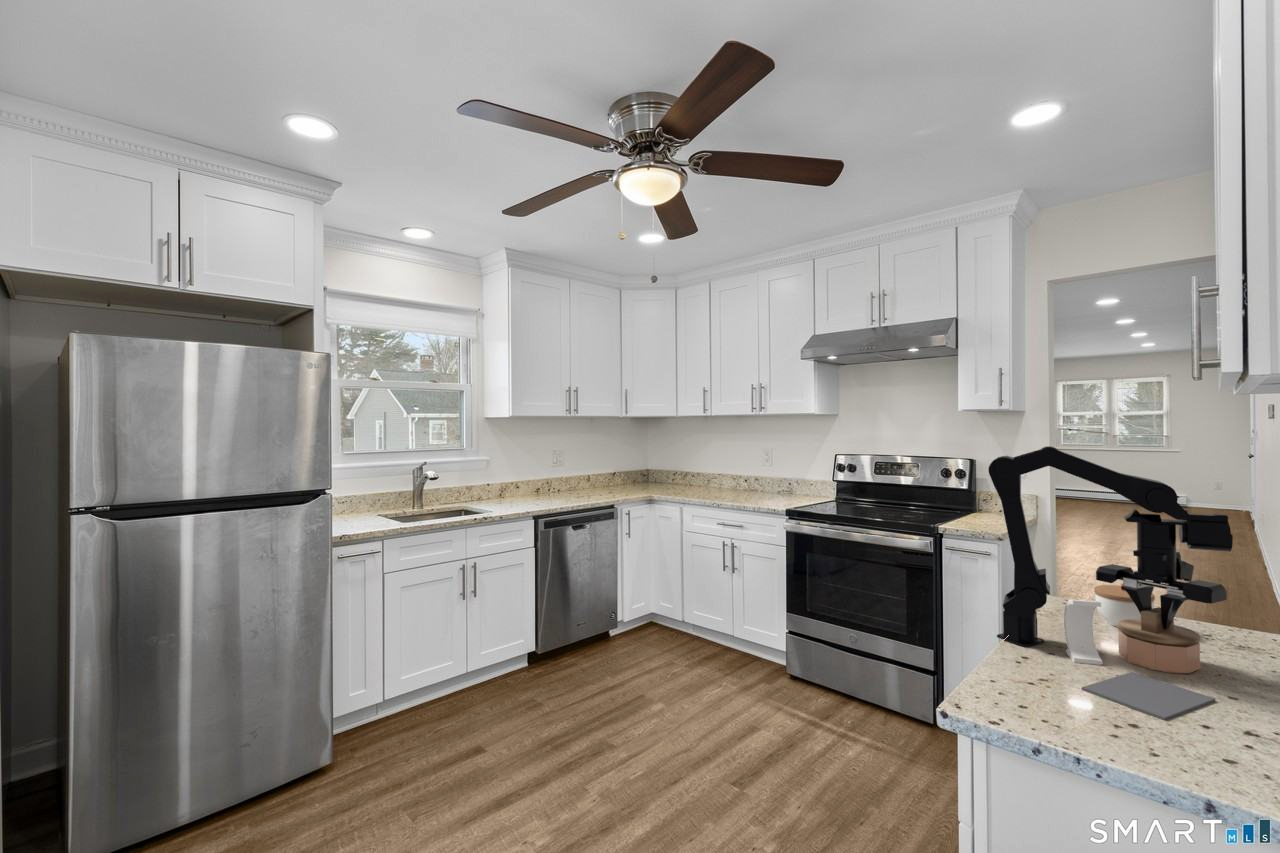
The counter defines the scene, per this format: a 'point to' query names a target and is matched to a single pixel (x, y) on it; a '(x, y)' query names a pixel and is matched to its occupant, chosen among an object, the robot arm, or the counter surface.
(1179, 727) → the counter surface
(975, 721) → the counter surface
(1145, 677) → the mat
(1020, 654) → the counter surface
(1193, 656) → the bowl
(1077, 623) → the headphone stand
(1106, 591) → the lidded jar
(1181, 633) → the lid
